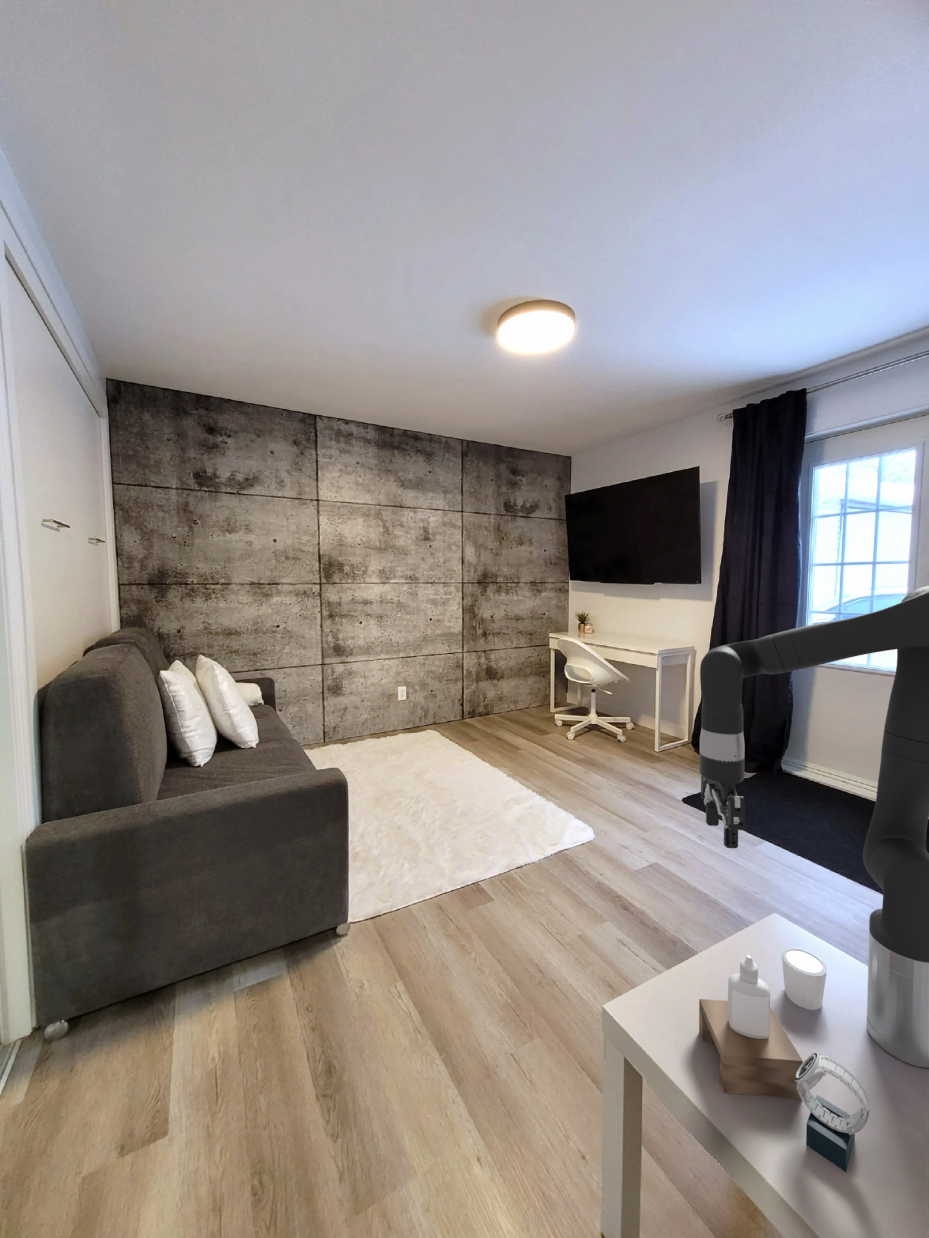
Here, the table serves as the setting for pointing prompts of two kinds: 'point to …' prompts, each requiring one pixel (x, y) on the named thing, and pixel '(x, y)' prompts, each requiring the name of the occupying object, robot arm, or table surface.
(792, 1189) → the table surface
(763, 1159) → the table surface
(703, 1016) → the brown wooden block
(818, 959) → the white oval container
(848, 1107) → the table surface
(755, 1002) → the eye dropper bottle
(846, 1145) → the watch
